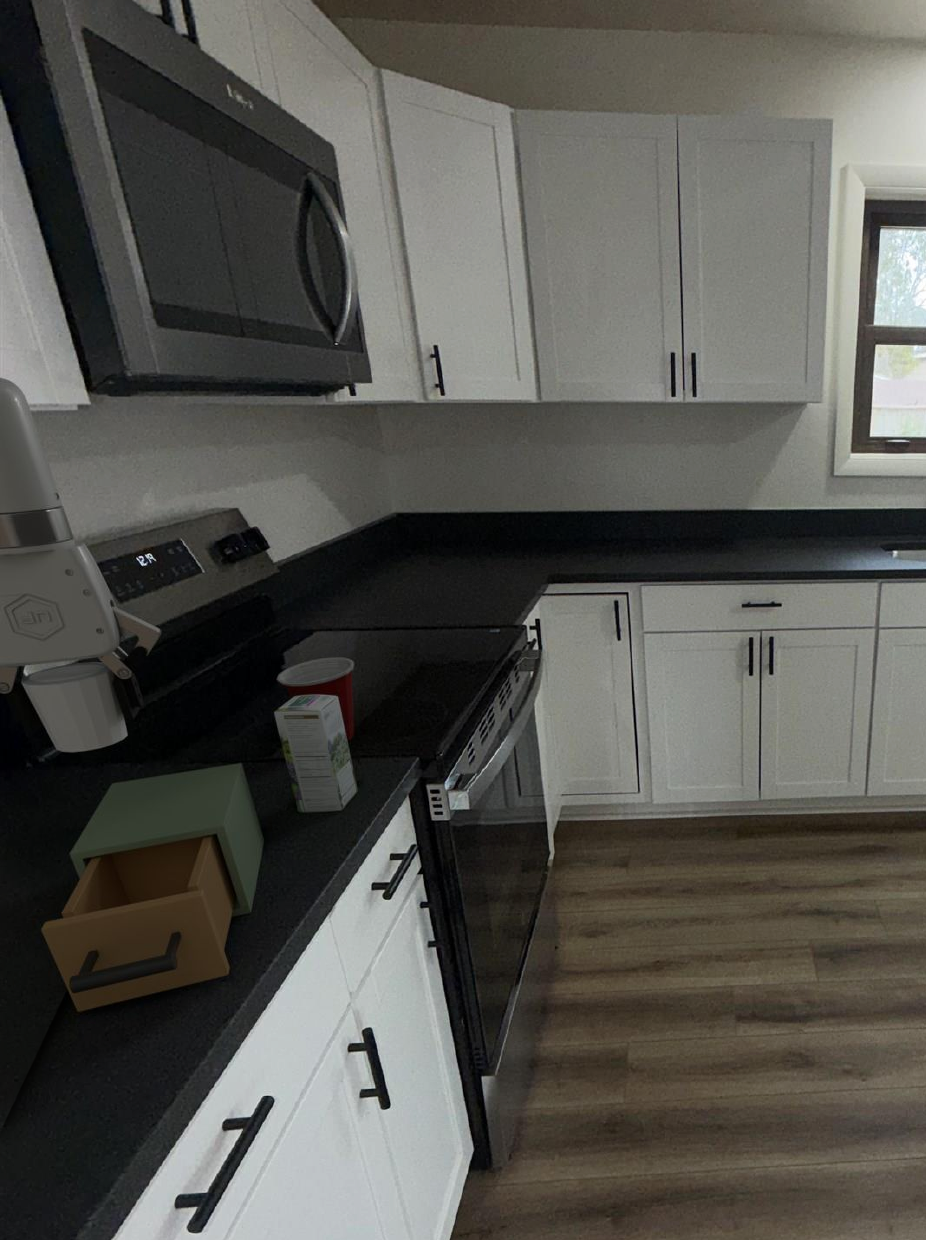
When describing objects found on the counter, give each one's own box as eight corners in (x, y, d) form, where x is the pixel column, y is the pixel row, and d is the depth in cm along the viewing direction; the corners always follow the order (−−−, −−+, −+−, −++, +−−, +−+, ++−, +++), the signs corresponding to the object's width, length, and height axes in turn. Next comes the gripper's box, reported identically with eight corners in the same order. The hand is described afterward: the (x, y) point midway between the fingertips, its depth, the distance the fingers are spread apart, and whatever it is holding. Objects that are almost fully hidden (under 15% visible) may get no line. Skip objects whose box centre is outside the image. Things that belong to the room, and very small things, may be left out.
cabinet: (251, 913, 84) (223, 825, 80) (106, 945, 80) (69, 853, 75) (264, 840, 98) (241, 762, 94) (141, 864, 93) (111, 783, 89)
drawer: (221, 1009, 70) (192, 926, 66) (60, 1050, 66) (20, 964, 62) (245, 889, 87) (223, 818, 83) (119, 916, 82) (90, 843, 79)
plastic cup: (280, 743, 126) (261, 670, 121) (345, 721, 134) (330, 653, 129) (317, 759, 120) (299, 683, 116) (383, 735, 129) (368, 664, 124)
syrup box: (316, 793, 110) (291, 694, 104) (360, 792, 110) (337, 693, 104) (298, 813, 105) (270, 710, 99) (344, 811, 105) (319, 708, 99)
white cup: (81, 758, 74) (54, 687, 71) (29, 749, 76) (1, 679, 73) (152, 731, 80) (130, 664, 77) (102, 723, 82) (79, 658, 79)
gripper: (-139, 546, 63) (-47, 752, 70) (127, 530, 70) (186, 719, 77) (-98, 532, 69) (-17, 723, 76) (143, 519, 76) (196, 695, 83)
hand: (85, 719), depth 77 cm, fingers closed on white cup, 6 cm apart
